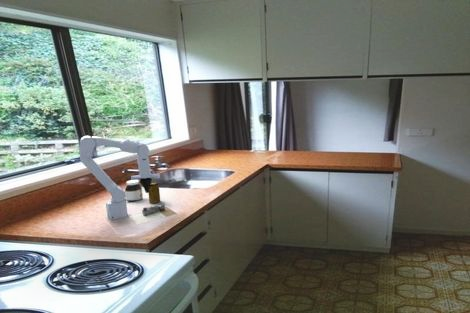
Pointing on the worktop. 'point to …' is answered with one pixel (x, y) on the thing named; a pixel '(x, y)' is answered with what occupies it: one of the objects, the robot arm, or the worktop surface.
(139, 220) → the door board
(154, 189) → the condiment
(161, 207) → the latch bar
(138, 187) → the spread jar
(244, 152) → the worktop surface
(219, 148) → the worktop surface
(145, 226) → the worktop surface
